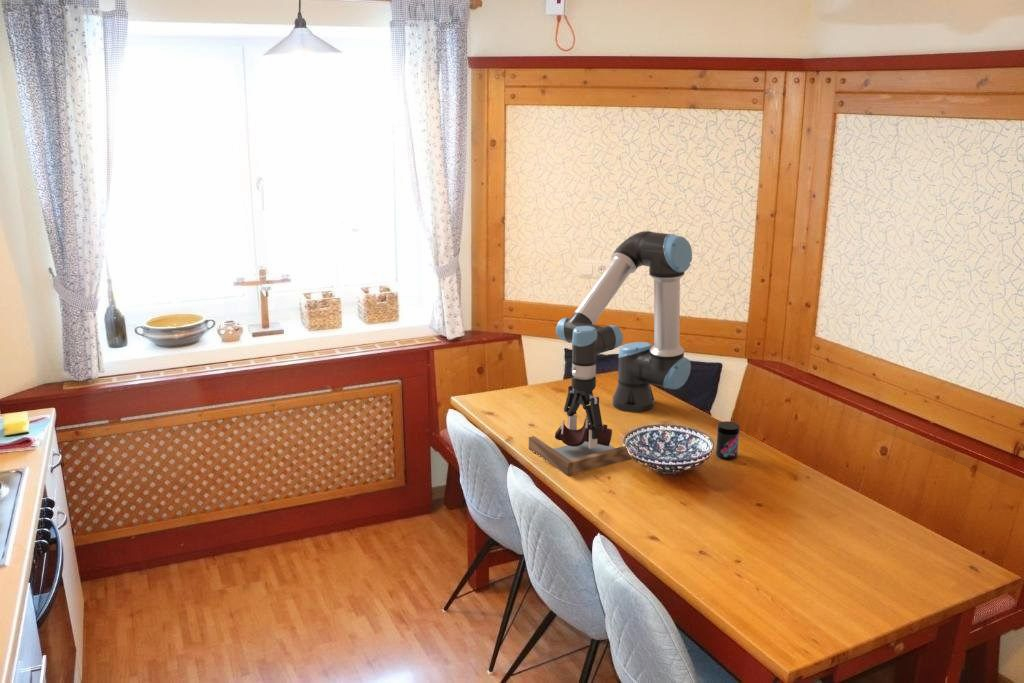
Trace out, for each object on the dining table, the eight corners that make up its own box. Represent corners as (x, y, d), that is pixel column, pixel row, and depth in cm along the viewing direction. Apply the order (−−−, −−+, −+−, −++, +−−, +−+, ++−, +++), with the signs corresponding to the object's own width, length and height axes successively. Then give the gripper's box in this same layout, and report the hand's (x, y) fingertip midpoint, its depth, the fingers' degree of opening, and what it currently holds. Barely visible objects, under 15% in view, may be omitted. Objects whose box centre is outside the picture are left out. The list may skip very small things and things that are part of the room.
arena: (590, 434, 289) (590, 423, 287) (632, 459, 269) (632, 447, 268) (528, 448, 277) (528, 437, 276) (567, 475, 258) (567, 463, 257)
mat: (598, 438, 285) (598, 437, 285) (617, 450, 276) (617, 449, 276) (546, 451, 275) (546, 450, 275) (565, 463, 266) (565, 462, 266)
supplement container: (714, 459, 269) (716, 428, 266) (716, 450, 275) (718, 420, 272) (737, 461, 267) (739, 430, 264) (737, 453, 273) (740, 422, 270)
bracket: (555, 430, 279) (561, 408, 272) (606, 441, 279) (614, 419, 272) (553, 444, 274) (559, 422, 268) (605, 455, 274) (613, 433, 268)
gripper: (553, 367, 276) (552, 431, 283) (595, 388, 257) (593, 456, 263) (573, 363, 280) (572, 426, 286) (615, 384, 260) (613, 451, 267)
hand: (582, 441), depth 275 cm, fingers closed on bracket, 11 cm apart
